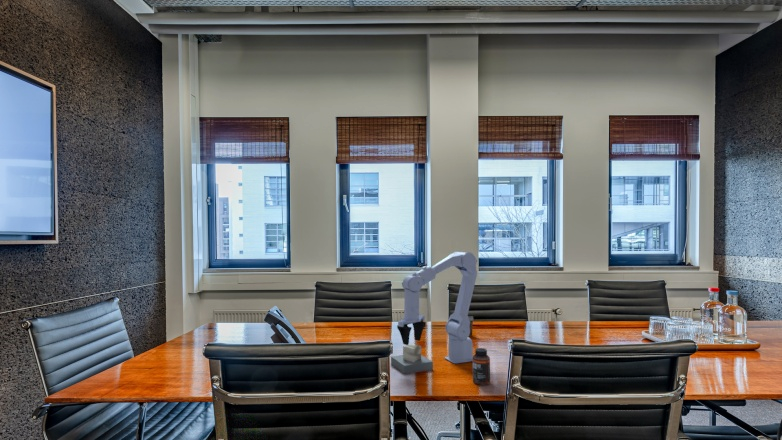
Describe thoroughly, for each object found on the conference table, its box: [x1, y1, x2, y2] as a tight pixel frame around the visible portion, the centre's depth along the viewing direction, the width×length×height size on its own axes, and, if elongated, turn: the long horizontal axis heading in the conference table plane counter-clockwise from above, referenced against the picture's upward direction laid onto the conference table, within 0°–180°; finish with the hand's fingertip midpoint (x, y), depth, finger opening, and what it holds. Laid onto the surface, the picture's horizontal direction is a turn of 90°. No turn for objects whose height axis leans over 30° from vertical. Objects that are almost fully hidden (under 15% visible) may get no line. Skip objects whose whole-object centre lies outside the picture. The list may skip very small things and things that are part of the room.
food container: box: [467, 314, 474, 337], centre depth 208 cm, size 12×6×10 cm, turn 17°
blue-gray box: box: [390, 354, 434, 375], centre depth 156 cm, size 12×12×3 cm
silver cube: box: [402, 343, 422, 362], centre depth 156 cm, size 5×5×5 cm
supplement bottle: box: [472, 347, 491, 386], centre depth 141 cm, size 6×6×11 cm
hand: (411, 342), depth 157 cm, fingers open, 7 cm apart
